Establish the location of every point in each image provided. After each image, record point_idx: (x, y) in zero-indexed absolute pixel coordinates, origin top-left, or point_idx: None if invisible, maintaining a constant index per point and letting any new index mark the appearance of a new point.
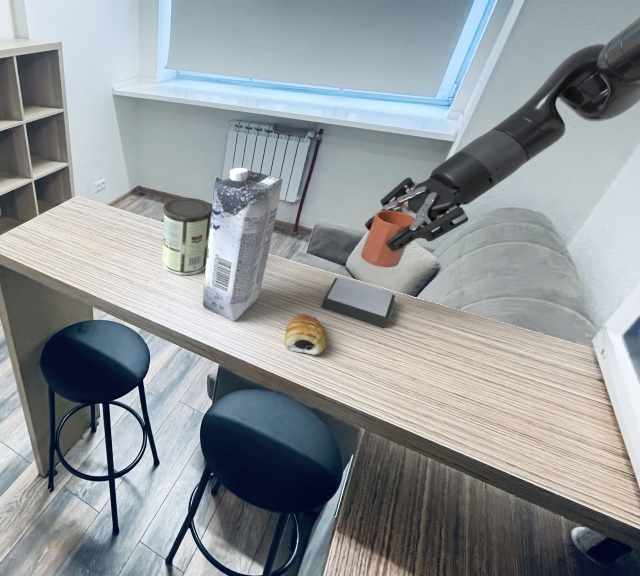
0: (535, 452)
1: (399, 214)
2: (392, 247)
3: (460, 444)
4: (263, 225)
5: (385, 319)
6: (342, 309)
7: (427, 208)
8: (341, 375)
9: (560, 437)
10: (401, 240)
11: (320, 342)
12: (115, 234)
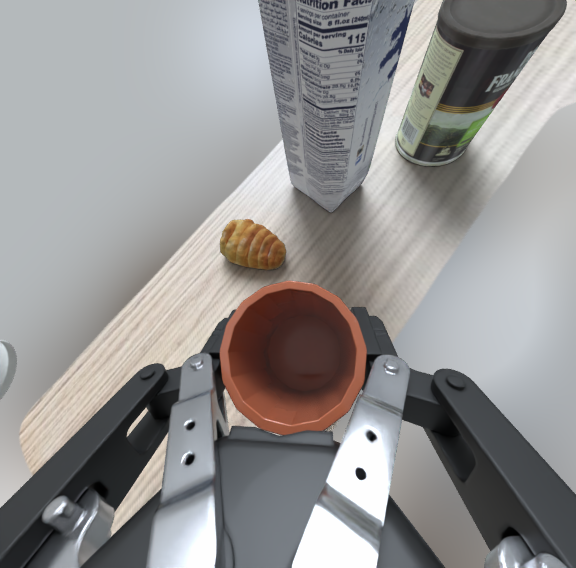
0: (78, 403)
1: (336, 402)
2: None
3: (106, 336)
4: (277, 20)
5: None
6: None
7: (173, 445)
8: (198, 268)
9: None
10: (214, 332)
11: (221, 245)
12: None
